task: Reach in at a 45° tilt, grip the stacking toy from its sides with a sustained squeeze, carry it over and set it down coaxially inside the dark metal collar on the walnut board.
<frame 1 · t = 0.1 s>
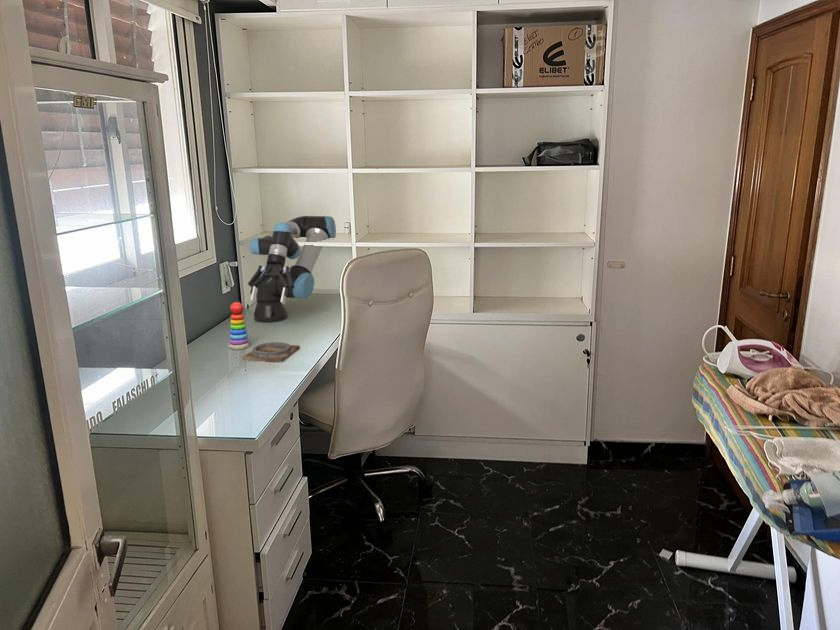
hand: (267, 302, 269), 15 cm above the table, tool tilted 35°, fingers open, 13 cm apart
collar board: (271, 354, 251), on the table
stacking toy: (239, 347, 260), on the table
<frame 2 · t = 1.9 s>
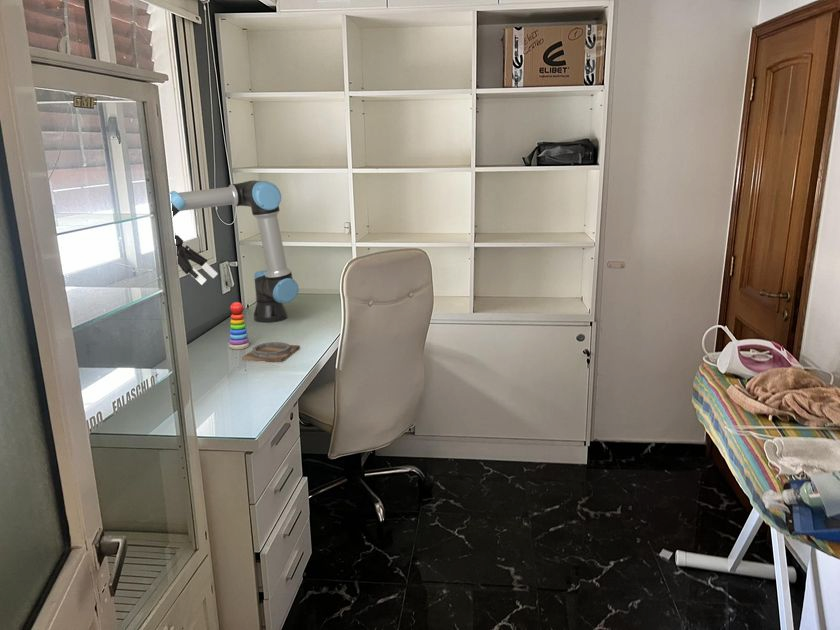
hand: (210, 279, 253), 28 cm above the table, tool tilted 45°, fingers open, 13 cm apart
nothing on the table moved.
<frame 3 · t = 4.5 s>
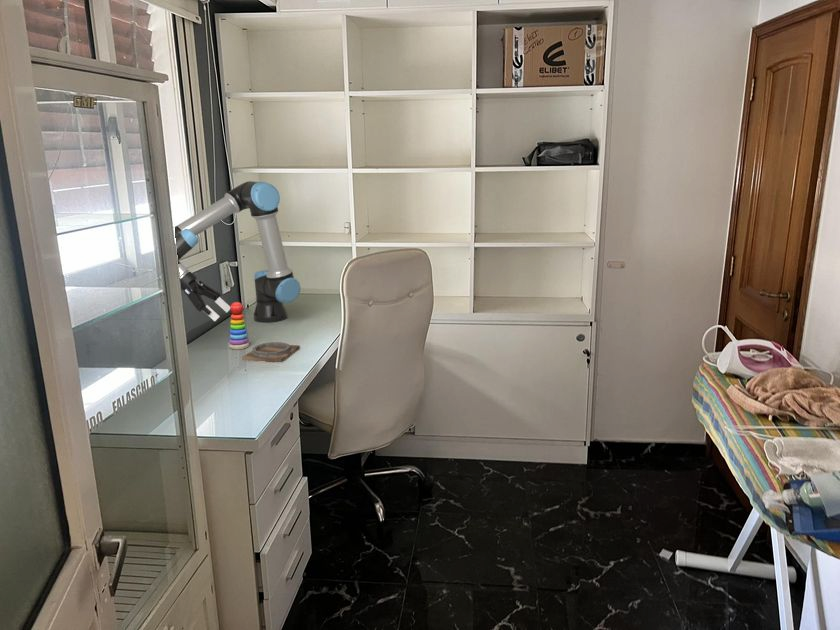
hand: (223, 314, 256), 14 cm above the table, tool tilted 45°, fingers open, 13 cm apart
nothing on the table moved.
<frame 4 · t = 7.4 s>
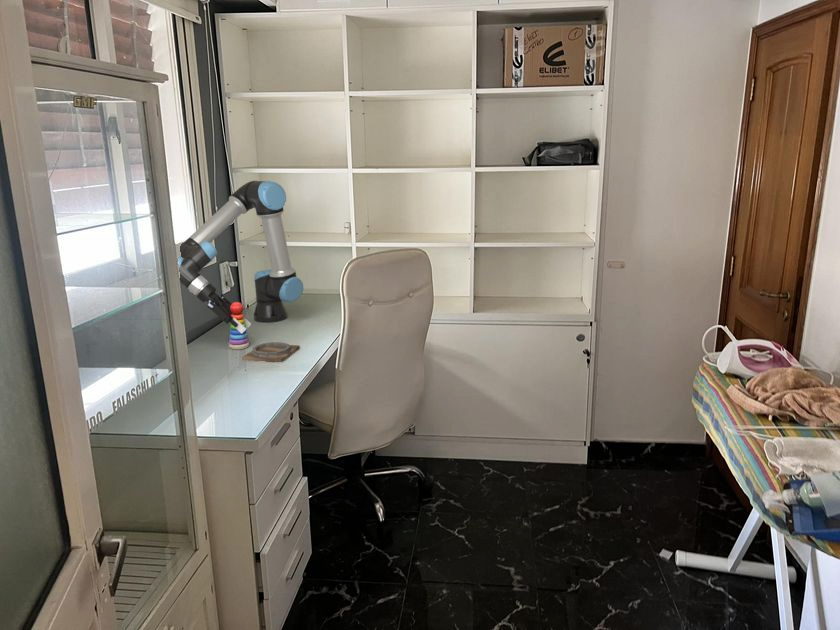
hand: (246, 328, 258), 8 cm above the table, tool tilted 45°, fingers closed on stacking toy, 6 cm apart
stacking toy: (239, 347, 260), on the table, touching gripper
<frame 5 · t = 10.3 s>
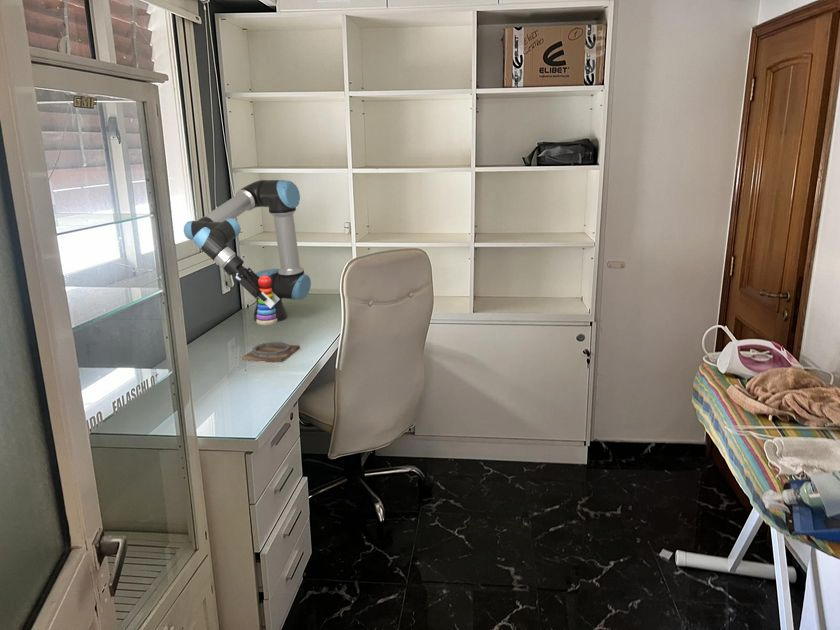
hand: (275, 303, 245), 20 cm above the table, tool tilted 45°, fingers closed on stacking toy, 6 cm apart
stacking toy: (267, 323, 247), point 12 cm above the table, touching gripper
when the fingers open (10 cm above the table, at t = 13.5 s): stacking toy drops 1 cm, resting on collar board.
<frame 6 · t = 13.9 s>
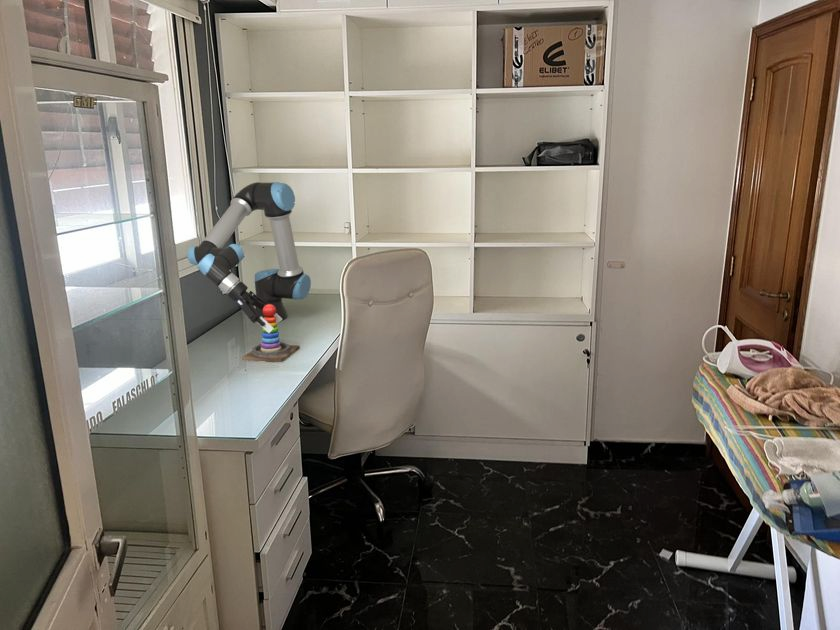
hand: (276, 326, 248), 11 cm above the table, tool tilted 45°, fingers open, 12 cm apart
stacking toy: (271, 351, 251), point 1 cm above the table, touching collar board
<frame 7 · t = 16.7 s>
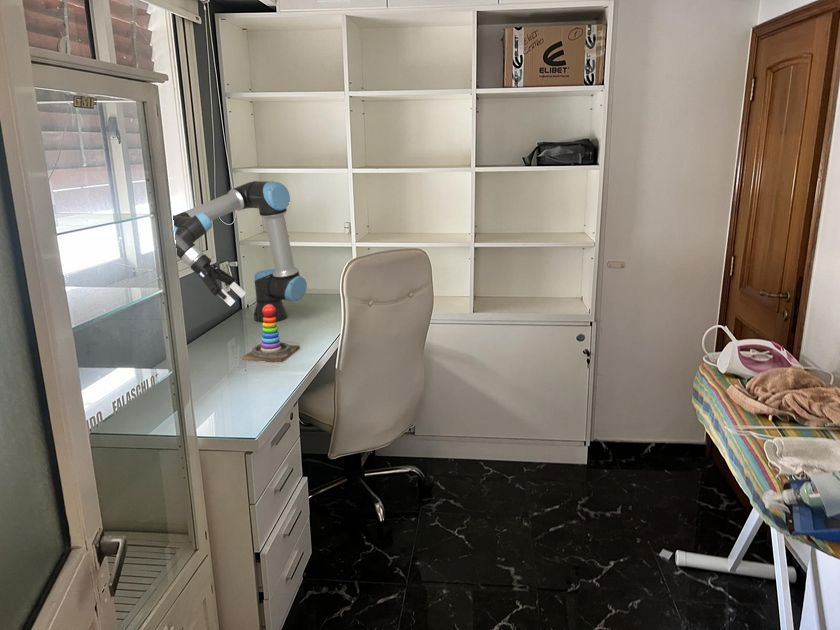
hand: (238, 299, 246), 22 cm above the table, tool tilted 45°, fingers open, 13 cm apart
nothing on the table moved.
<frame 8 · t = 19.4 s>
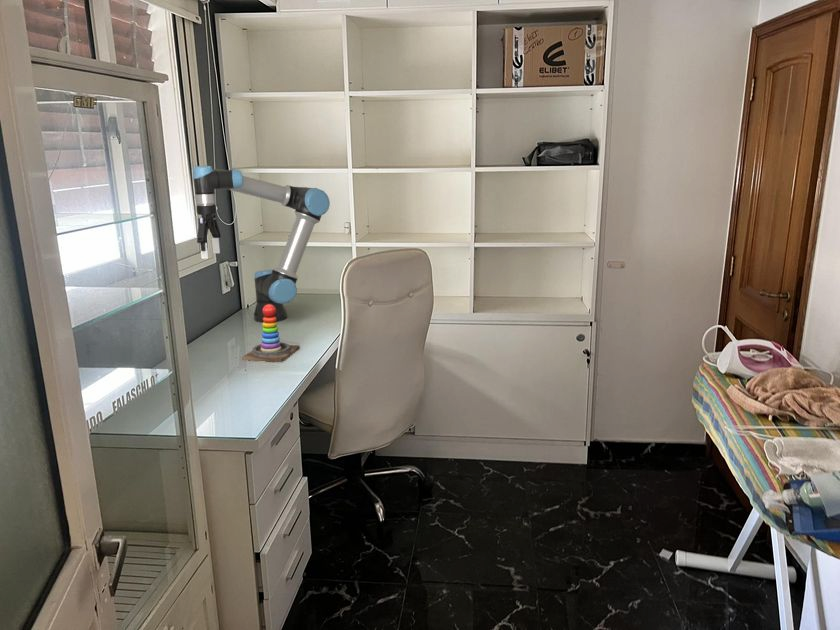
hand: (211, 255, 268), 35 cm above the table, tool pointing down, fingers open, 13 cm apart
nothing on the table moved.
at the end: stacking toy 0.1 cm off-centre on the collar board, point 1.0 cm above the collar board's base; stacking toy tilted 0°; the gripper is holding nothing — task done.
